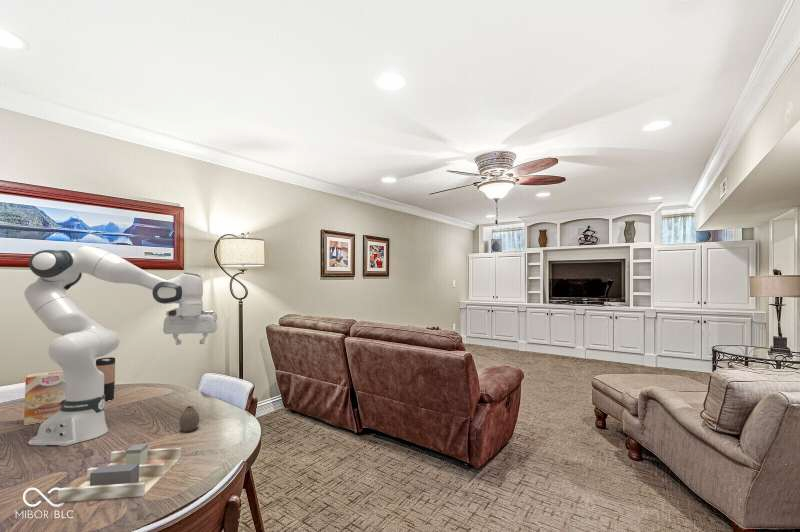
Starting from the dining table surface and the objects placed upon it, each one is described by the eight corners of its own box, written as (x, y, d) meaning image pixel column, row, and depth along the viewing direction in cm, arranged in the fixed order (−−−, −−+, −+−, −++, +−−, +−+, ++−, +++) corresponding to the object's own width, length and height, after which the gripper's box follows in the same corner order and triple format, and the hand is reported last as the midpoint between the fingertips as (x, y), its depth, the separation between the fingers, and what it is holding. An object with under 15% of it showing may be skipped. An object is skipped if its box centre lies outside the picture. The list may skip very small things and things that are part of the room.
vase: (190, 434, 140) (190, 410, 140) (174, 432, 141) (174, 409, 142) (203, 427, 147) (203, 404, 147) (188, 426, 148) (188, 403, 148)
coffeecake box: (23, 426, 148) (25, 377, 149) (24, 421, 153) (26, 374, 154) (73, 417, 158) (74, 371, 159) (73, 413, 163) (74, 368, 164)
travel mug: (101, 398, 185) (102, 357, 185) (118, 397, 185) (119, 357, 186) (90, 403, 177) (91, 360, 178) (107, 402, 178) (108, 360, 179)
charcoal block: (89, 492, 99) (90, 473, 99) (99, 484, 103) (100, 466, 103) (130, 489, 101) (130, 470, 101) (138, 481, 105) (139, 463, 105)
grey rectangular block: (125, 471, 110) (125, 450, 110) (133, 464, 114) (133, 444, 114) (140, 470, 111) (140, 449, 111) (147, 463, 115) (147, 443, 115)
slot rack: (57, 506, 95) (58, 490, 95) (112, 464, 117) (113, 451, 117) (142, 499, 97) (142, 484, 98) (180, 460, 119) (180, 447, 119)
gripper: (219, 310, 162) (219, 342, 161) (169, 311, 159) (168, 343, 158) (214, 311, 155) (213, 344, 155) (161, 312, 153) (160, 346, 152)
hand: (190, 344), depth 157 cm, fingers open, 8 cm apart
